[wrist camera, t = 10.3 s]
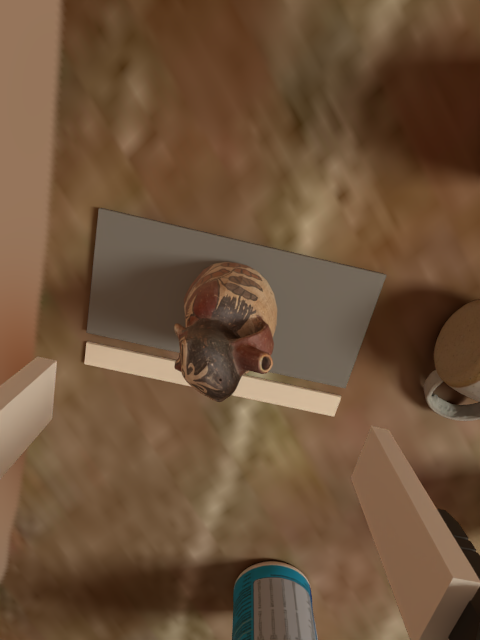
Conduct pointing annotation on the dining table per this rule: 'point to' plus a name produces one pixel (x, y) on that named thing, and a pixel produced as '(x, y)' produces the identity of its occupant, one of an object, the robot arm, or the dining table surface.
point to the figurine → (226, 329)
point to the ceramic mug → (457, 363)
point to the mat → (206, 249)
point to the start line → (167, 372)
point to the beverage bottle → (273, 604)
